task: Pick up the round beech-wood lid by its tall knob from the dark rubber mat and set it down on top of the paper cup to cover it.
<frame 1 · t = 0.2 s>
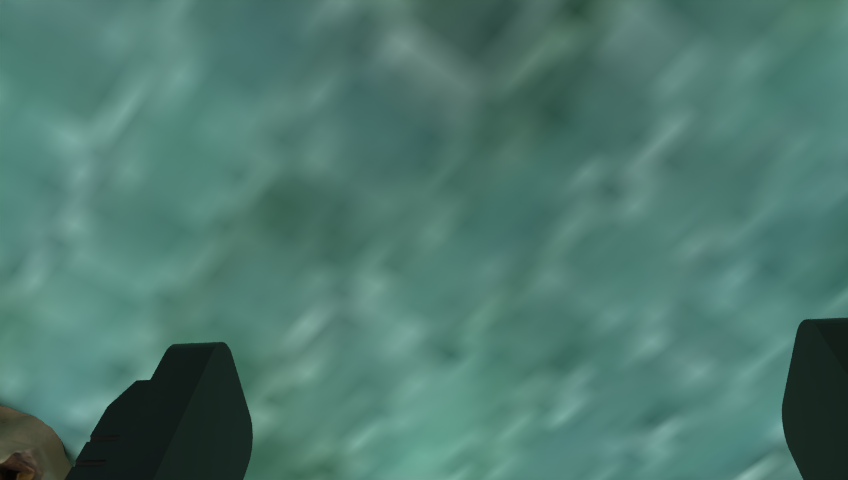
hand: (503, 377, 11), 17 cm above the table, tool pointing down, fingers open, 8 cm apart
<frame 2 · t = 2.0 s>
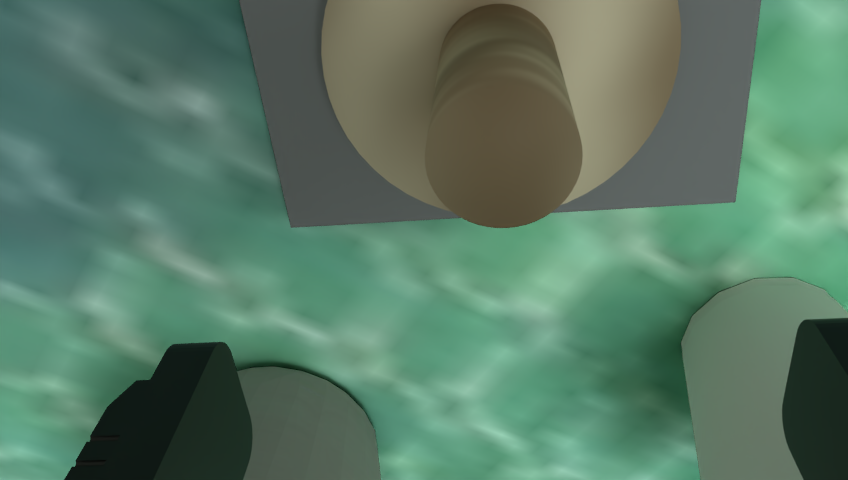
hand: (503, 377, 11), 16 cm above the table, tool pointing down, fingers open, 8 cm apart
mat: (496, 45, 25), on the table
foam cup: (759, 337, 30), on the table
potted plant: (283, 437, 35), on the table
lid: (497, 52, 24), point 1 cm above the table, touching mat
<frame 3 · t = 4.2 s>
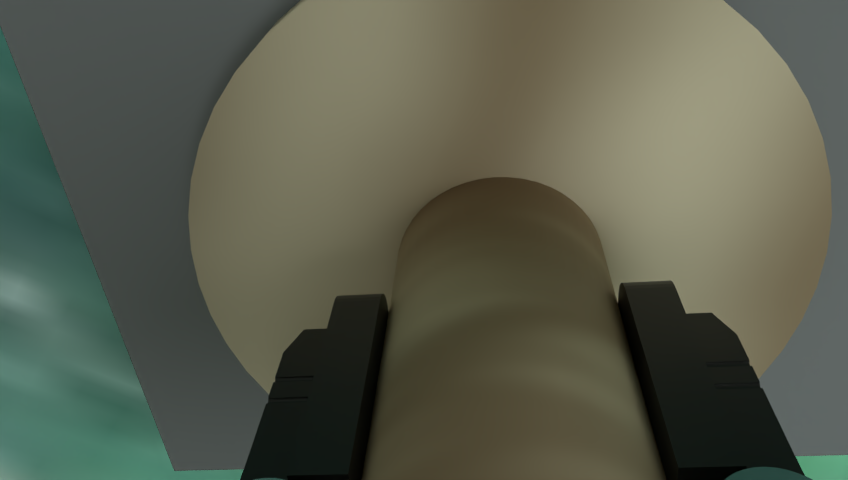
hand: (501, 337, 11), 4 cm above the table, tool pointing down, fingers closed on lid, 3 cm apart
mat: (495, 218, 15), on the table
lid: (498, 239, 14), point 1 cm above the table, touching gripper, mat
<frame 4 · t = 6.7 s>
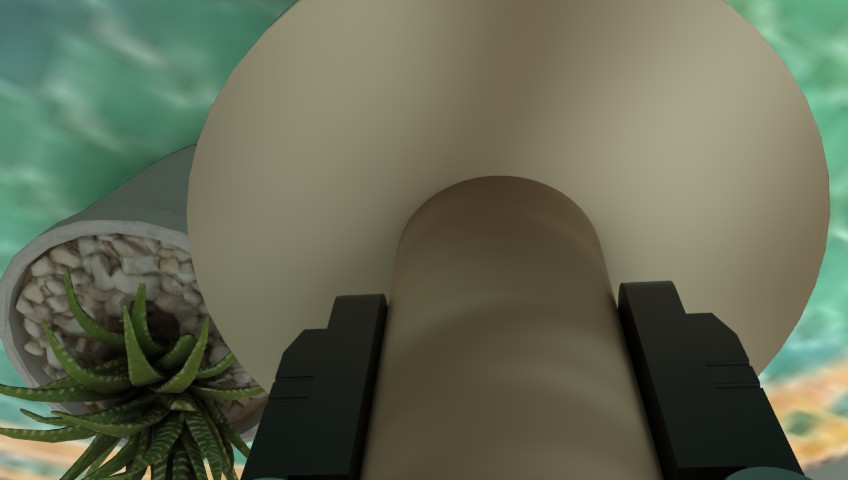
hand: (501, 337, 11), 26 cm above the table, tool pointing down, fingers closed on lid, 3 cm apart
potted plant: (227, 221, 41), on the table
lid: (496, 237, 14), point 23 cm above the table, touching gripper
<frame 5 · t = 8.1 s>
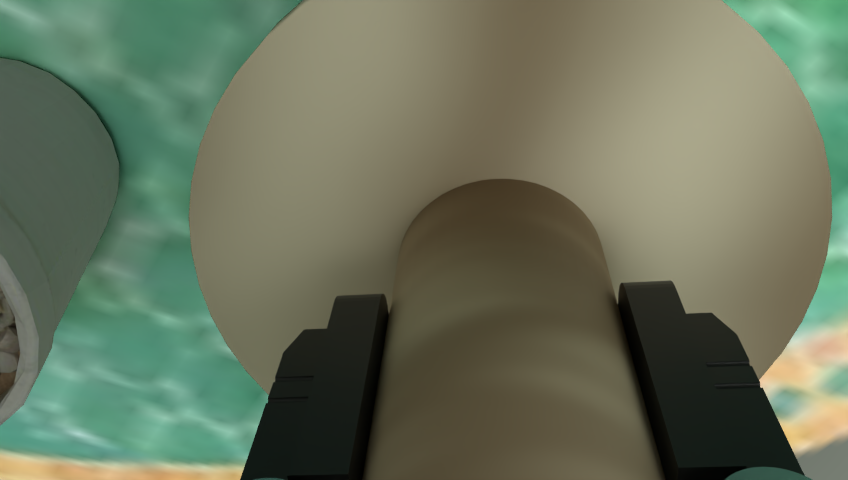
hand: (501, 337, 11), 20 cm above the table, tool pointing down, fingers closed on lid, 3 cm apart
potted plant: (27, 160, 34), on the table
lid: (498, 240, 14), point 17 cm above the table, touching gripper
when the fingers open (17 cm above the table, at t = 9.4 s): lid drops 1 cm, resting on foam cup.
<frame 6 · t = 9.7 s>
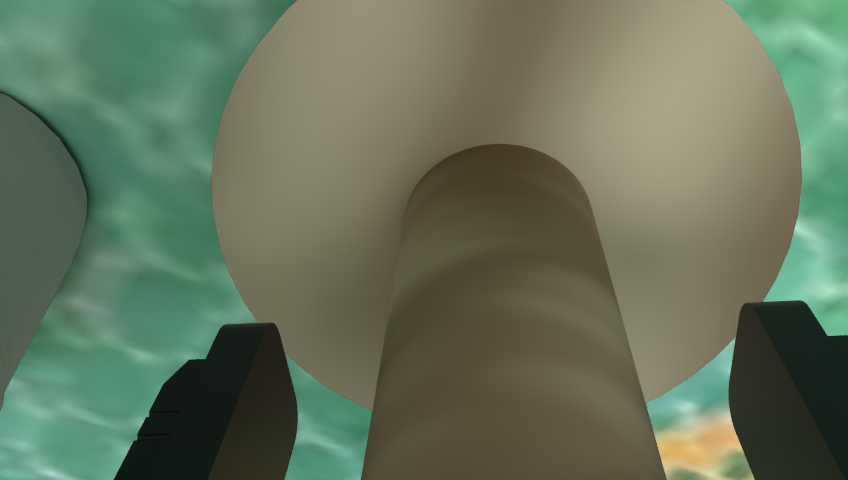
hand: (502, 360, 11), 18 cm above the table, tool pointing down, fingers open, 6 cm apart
lid: (496, 205, 15), point 13 cm above the table, touching foam cup
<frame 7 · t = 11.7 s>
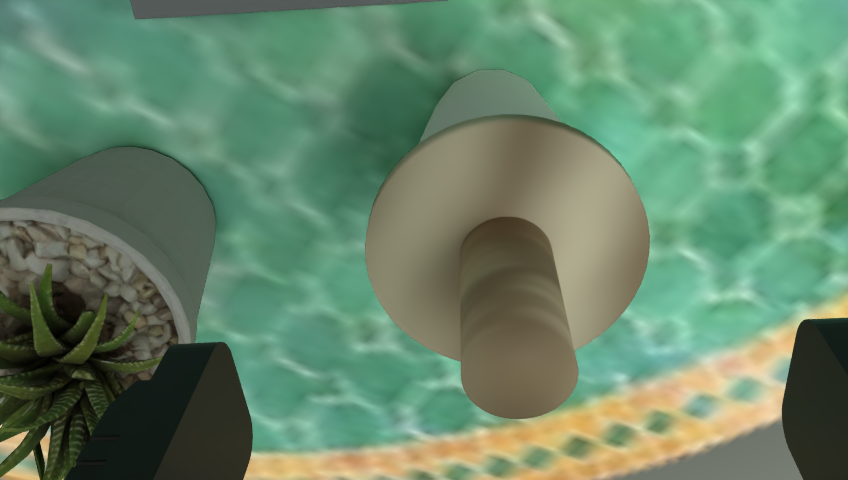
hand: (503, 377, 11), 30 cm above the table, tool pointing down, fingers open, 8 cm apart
foam cup: (490, 123, 41), on the table, touching lid
potted plant: (144, 218, 45), on the table
lid: (504, 244, 30), point 13 cm above the table, touching foam cup
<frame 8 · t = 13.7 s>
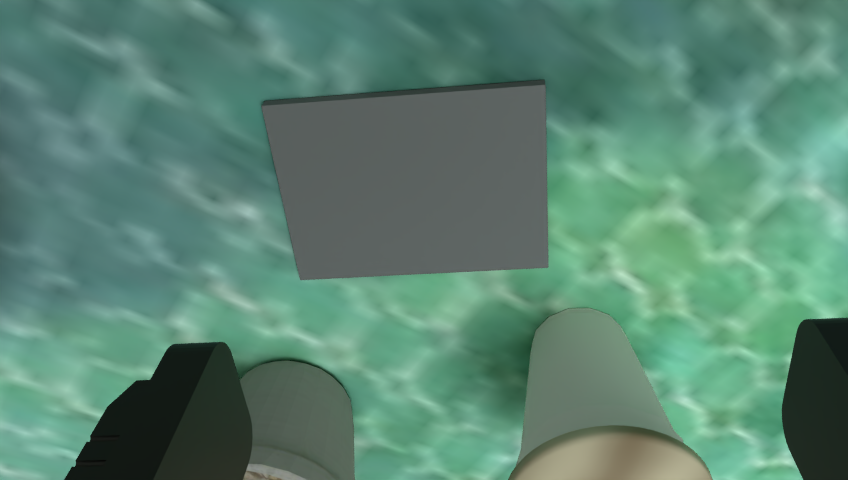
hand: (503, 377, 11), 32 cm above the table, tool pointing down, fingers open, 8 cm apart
mat: (413, 184, 45), on the table
foam cup: (577, 342, 51), on the table, touching lid
potted plant: (293, 406, 56), on the table
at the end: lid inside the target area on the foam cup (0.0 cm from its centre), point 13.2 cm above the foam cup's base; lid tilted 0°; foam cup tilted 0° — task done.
